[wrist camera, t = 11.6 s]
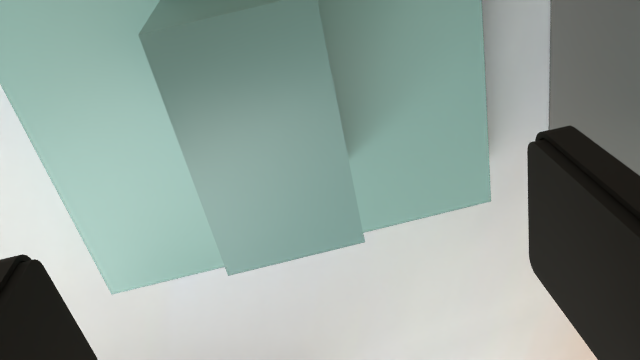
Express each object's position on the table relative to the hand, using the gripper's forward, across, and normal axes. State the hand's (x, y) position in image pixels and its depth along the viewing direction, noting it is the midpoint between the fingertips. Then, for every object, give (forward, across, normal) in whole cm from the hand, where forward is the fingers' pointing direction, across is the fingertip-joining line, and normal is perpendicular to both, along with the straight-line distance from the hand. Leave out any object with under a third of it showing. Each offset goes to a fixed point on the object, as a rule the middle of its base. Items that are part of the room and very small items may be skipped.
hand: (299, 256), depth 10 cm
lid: (+11, +1, 0) cm, 11 cm away
